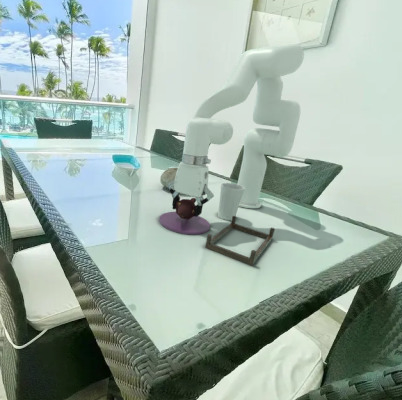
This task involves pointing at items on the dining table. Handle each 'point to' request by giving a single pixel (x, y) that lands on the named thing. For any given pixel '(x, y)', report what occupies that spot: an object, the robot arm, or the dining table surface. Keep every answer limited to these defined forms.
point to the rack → (235, 255)
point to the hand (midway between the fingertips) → (186, 211)
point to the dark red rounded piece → (186, 208)
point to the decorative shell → (168, 176)
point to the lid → (184, 224)
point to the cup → (229, 200)
